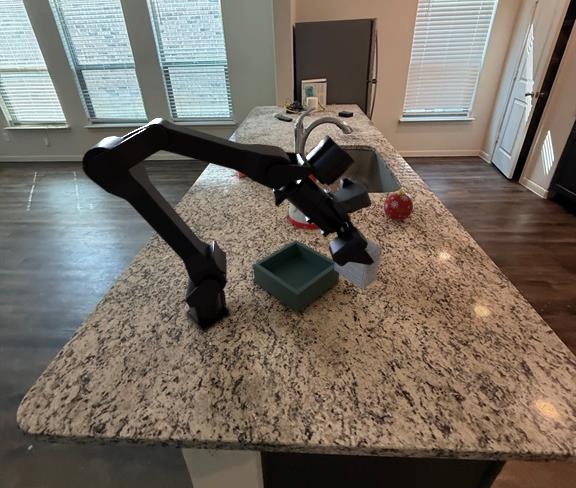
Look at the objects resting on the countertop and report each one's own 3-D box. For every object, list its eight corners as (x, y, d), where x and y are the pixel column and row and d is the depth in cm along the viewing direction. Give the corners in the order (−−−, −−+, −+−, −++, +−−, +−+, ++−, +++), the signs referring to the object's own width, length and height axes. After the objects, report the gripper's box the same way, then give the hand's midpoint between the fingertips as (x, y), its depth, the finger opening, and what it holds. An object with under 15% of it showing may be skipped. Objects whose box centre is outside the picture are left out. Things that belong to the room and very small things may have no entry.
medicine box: (376, 281, 64) (382, 246, 60) (362, 290, 61) (368, 254, 57) (347, 262, 69) (351, 229, 65) (333, 270, 67) (336, 236, 63)
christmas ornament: (381, 223, 96) (385, 194, 91) (382, 210, 103) (386, 183, 98) (411, 227, 93) (416, 197, 89) (410, 214, 101) (415, 185, 96)
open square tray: (297, 313, 64) (297, 294, 62) (254, 281, 73) (252, 264, 71) (338, 280, 73) (340, 263, 71) (295, 255, 82) (295, 239, 80)
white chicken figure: (296, 231, 92) (295, 185, 86) (284, 211, 104) (282, 168, 97) (339, 224, 96) (342, 179, 89) (323, 205, 107) (324, 163, 100)
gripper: (362, 193, 46) (419, 251, 52) (334, 154, 62) (380, 202, 68) (307, 240, 49) (367, 290, 55) (295, 191, 66) (342, 234, 71)
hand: (364, 249), depth 62 cm, fingers closed on medicine box, 9 cm apart
